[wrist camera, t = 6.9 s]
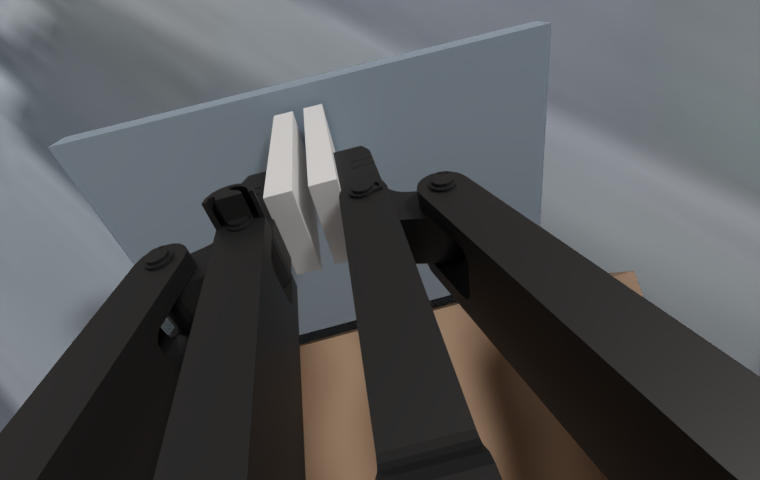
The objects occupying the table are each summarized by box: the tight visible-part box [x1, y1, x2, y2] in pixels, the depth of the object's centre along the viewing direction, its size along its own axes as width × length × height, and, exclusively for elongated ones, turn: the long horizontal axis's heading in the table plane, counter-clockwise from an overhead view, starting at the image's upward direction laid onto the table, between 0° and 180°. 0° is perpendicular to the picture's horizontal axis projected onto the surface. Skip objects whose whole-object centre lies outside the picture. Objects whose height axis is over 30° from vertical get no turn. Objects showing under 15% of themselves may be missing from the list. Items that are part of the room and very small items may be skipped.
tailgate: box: [48, 21, 551, 335], centre depth 19 cm, size 20×2×13 cm
